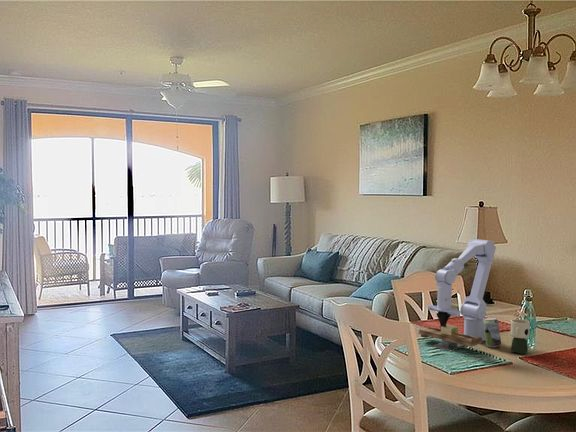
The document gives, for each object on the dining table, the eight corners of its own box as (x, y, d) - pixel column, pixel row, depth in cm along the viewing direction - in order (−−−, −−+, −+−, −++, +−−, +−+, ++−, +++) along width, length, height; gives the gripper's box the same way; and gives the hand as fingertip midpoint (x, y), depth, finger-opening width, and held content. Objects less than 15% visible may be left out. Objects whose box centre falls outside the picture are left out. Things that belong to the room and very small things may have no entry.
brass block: (457, 336, 234) (458, 326, 234) (451, 338, 231) (451, 328, 231) (447, 333, 238) (447, 324, 238) (440, 335, 235) (440, 326, 235)
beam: (482, 346, 228) (483, 336, 228) (471, 350, 223) (471, 340, 222) (430, 333, 247) (430, 324, 247) (418, 337, 241) (418, 327, 241)
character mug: (526, 357, 220) (527, 325, 219) (507, 354, 224) (507, 322, 223) (531, 350, 229) (532, 319, 228) (512, 348, 233) (513, 317, 232)
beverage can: (498, 349, 230) (499, 321, 230) (480, 346, 235) (481, 318, 234) (503, 346, 235) (503, 318, 235) (485, 343, 240) (486, 315, 239)
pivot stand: (466, 345, 236) (466, 338, 236) (449, 351, 228) (449, 344, 227) (449, 341, 242) (449, 334, 242) (432, 347, 234) (432, 340, 233)
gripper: (424, 296, 239) (423, 327, 239) (454, 301, 228) (453, 334, 229) (433, 294, 243) (432, 325, 244) (463, 299, 233) (462, 332, 233)
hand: (443, 329), depth 237 cm, fingers closed, pressing on brass block
